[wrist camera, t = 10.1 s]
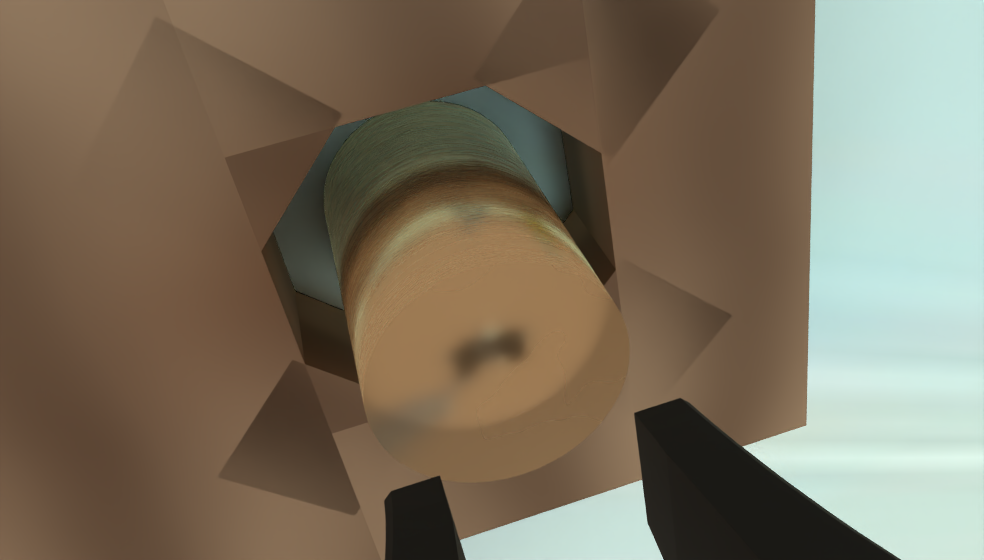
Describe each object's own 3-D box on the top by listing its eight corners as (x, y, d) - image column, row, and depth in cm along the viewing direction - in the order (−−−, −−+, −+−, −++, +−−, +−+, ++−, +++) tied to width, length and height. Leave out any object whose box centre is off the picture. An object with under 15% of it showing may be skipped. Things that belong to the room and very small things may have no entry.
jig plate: (-59, 621, 21) (-89, 720, 19) (-574, 26, 13) (-724, 88, 11) (753, 360, 23) (806, 425, 21) (738, -285, 15) (822, -283, 13)
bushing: (354, 304, 19) (400, 513, 14) (297, 133, 17) (327, 312, 12) (535, 251, 20) (641, 435, 15) (503, 77, 17) (615, 226, 12)
